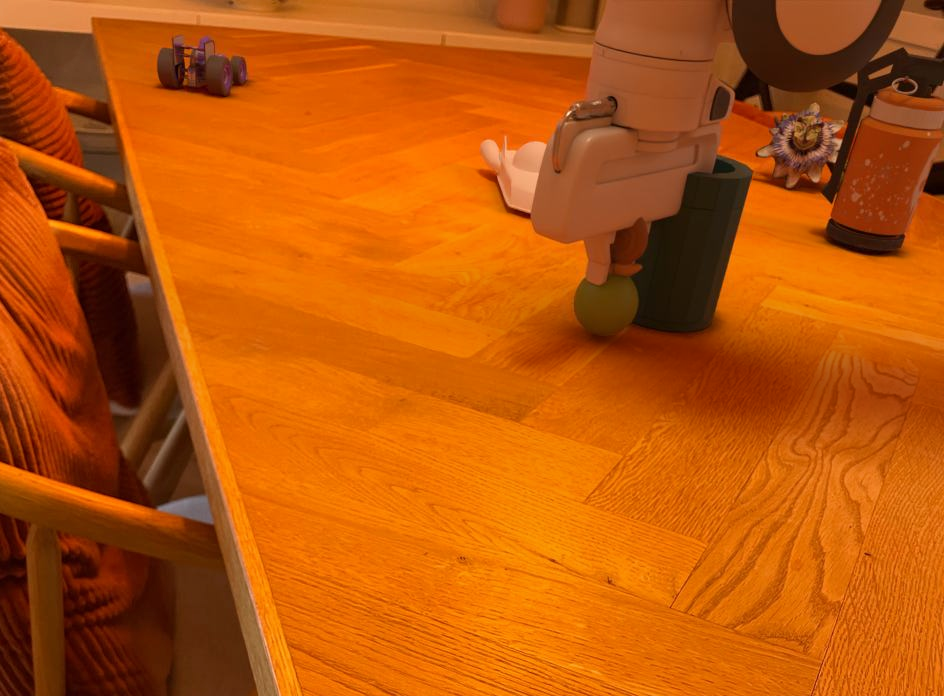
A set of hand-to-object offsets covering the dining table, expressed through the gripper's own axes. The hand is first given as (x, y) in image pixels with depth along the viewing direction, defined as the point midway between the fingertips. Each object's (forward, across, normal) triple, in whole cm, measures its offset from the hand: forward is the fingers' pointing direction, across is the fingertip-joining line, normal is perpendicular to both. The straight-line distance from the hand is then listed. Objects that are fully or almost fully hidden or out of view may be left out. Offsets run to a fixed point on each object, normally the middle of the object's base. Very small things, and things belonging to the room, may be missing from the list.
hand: (608, 278), depth 83 cm
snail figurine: (+5, 0, 0) cm, 5 cm away
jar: (+5, +10, 0) cm, 12 cm away
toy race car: (+5, +29, +92) cm, 96 cm away
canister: (+5, +53, 0) cm, 53 cm away
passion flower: (+5, +72, +17) cm, 75 cm away
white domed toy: (+5, +30, +31) cm, 43 cm away
